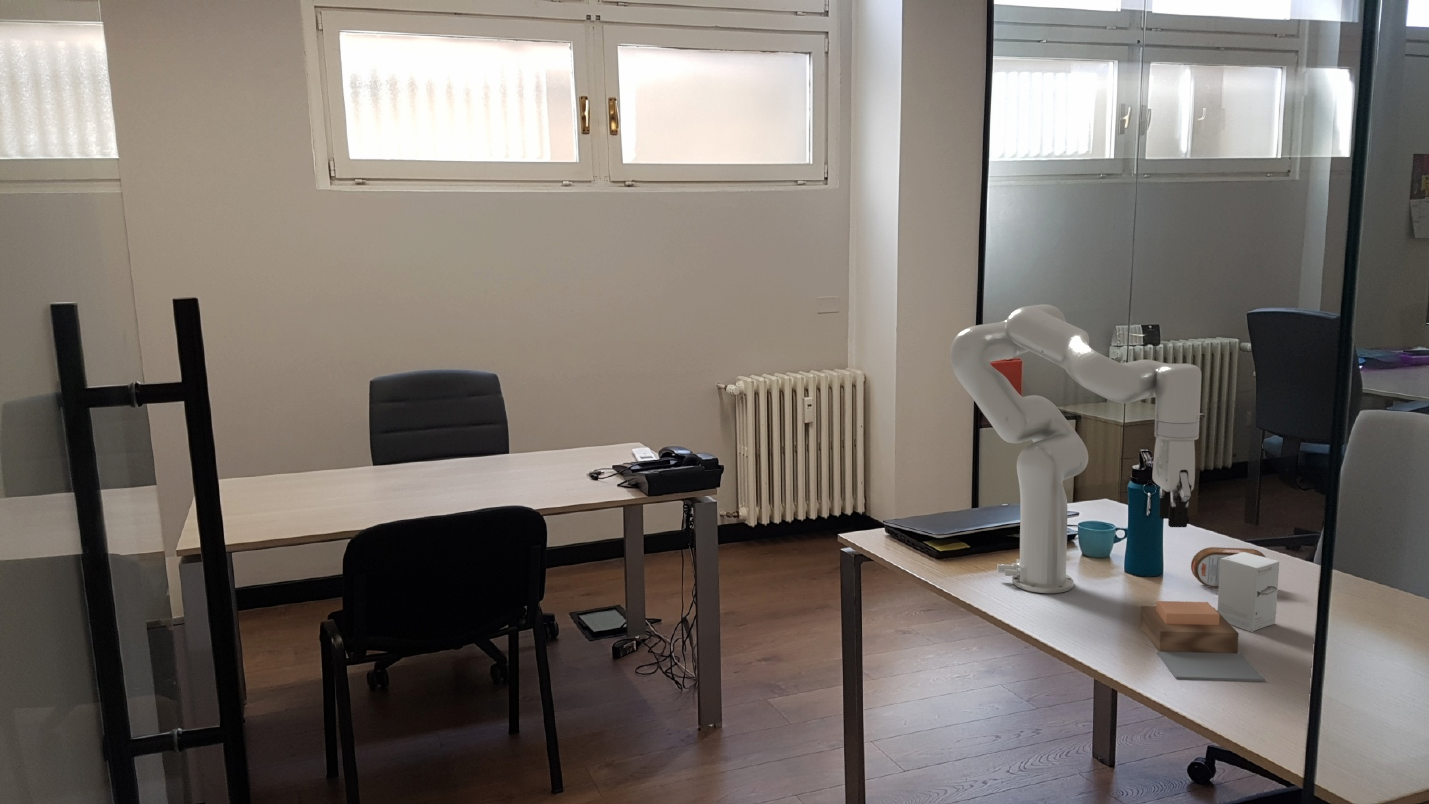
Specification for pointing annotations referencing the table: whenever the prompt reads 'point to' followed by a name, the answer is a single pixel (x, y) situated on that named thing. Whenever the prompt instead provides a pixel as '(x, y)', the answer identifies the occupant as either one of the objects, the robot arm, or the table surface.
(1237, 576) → the supplement box
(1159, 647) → the wooden block
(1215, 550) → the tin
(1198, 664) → the mat
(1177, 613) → the orange block
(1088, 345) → the robot arm
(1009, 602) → the table surface
